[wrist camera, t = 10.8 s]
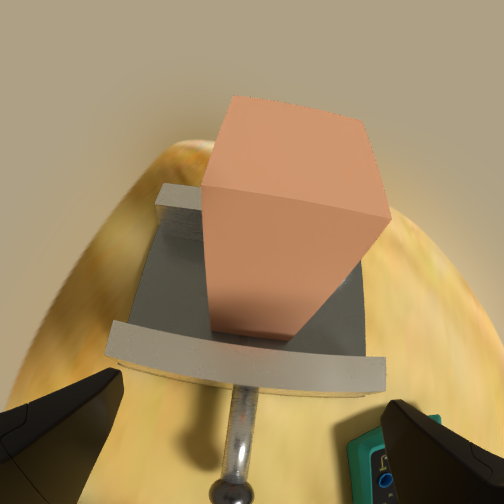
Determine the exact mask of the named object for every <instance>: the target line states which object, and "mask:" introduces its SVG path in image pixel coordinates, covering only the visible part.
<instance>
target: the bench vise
mask: <svg viewBox="0 0 504 504" xmlns="http://www.w3.org/2000/svg"><path fill="white" fill-rule="evenodd" d="M154 205H155V209H156V213H157V217H158V221H159V227H158V229H157V232H156V235H155V238H154V240H153V243H152V246H151V249H150V252H149V255H148V258H147V261H146V264H145V267H144V270H143V273H142V276H141V279H140V282H139V286H138V289H137V292H136V295H135V299H134V302H133V306H132V309H131V313H130V316H129V320H128V323H124V322H121V321H117V320H113V323H112V326H111V330H110V334H109V338H108V341H107V345H106V349H105V353H104V355H105V356H107V357H109V358H111V359H113V360H114V361H116V362H118V364H119V365H121V366H123V367H126V368H130V369H134V370H137V371H141V372H145V373H149V374H153V375H157V376H161V377H165V378H170V379H174V380H179V381H184V382H189V383H194V384H199V385H205V386H211V387H217V388H223V389H230V390H233V391H232V398H231V406H230V413H229V420H228V427H227V435H226V442H225V449H224V456H223V463H222V471H221V478H220V479H218V480H217V481H215V482H214V483H213V484H212V486H211V487H210V490H209V499H210V501H211V503H212V504H252V503H253V501H254V490H253V488H252V487H251V485H250V484H249V483H248V482H247V478H248V471H249V464H250V457H251V449H252V442H253V434H254V426H255V418H256V410H257V402H258V394H259V393H262V394H272V395H284V396H299V397H324V398H359V397H364V396H365V395H370V394H375V393H380V392H384V391H386V357H366V343H365V310H364V292H363V278H362V267H361V260H360V261H359V262H358V264H357V265H356V266H355V267H354V269H353V270H352V271H351V272H350V273H349V275H348V276H347V277H346V278H345V279H344V281H343V282H342V283H341V284H340V285H339V287H338V288H337V289H336V290H335V291H334V292H333V294H332V295H331V296H330V297H329V298H328V299H327V300H326V302H325V303H324V304H323V305H322V306H321V307H320V308H319V309H318V311H317V312H316V313H315V314H314V315H313V316H312V317H311V318H310V319H309V320H308V322H307V323H306V324H305V325H304V326H303V327H302V328H301V329H300V330H299V331H298V332H297V333H296V334H295V335H294V336H293V338H292V339H291V340H290V341H284V340H275V339H267V338H259V337H251V336H244V335H237V334H230V333H223V332H217V331H211V326H210V316H209V305H208V294H207V282H206V269H205V255H204V240H203V222H202V203H201V187H195V186H187V185H178V184H170V183H163V185H162V188H161V190H160V192H159V194H158V197H157V199H156V201H155V204H154Z"/></svg>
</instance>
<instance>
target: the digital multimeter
mask: <svg viewBox="0 0 504 504" xmlns="http://www.w3.org/2000/svg"><path fill="white" fill-rule="evenodd" d="M428 417H430V418H432V419H433V420H435V421H436V422H438V423H440V424H441V417H440V415H438V414H437V415H429V416H428ZM347 454H348V460H349V467H350V475H351V483H352V494H353V504H399V502H398V498H397V494H396V490H395V486H394V482H393V478H392V475H391V471H390V467H389V464H388V460H387V456H386V451H385V445H384V439H383V434H382V428H381V426H379V427H377V428H375V429H373V430H371V431H369V432H367V433H365V434H363V435H362V436H360V437H358V438H356V439H354V440H352V441H351V442H349V444H348V445H347ZM370 459H371V461H370ZM372 495H373V502H372Z"/></svg>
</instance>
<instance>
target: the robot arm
mask: <svg viewBox="0 0 504 504" xmlns="http://www.w3.org/2000/svg"><path fill="white" fill-rule="evenodd" d="M123 394H124V385H123V377H122V372H121V371H120V370H118V369H114V368H111V367H109V368H107V369H104V370H102V371H100V372H98V373H96V374H94V375H91V376H89V377H87V378H85V379H82V380H80V381H78V382H76V383H74V384H71V385H69V386H67V387H64V388H62V389H60V390H57V391H55V392H53V393H50V394H48V395H46V396H43V397H41V398H39V399H36V400H34V401H31V402H29V404H27V403H26V404H24V405H21V406H19V407H16V408H13V409H11V410H8V411H5V412H2V413H0V504H77V502H78V500H79V497H80V495H81V493H82V491H83V488H84V486H85V484H86V482H87V480H88V478H89V475H90V473H91V471H92V469H93V467H94V465H95V463H96V460H97V458H98V456H99V454H100V452H101V450H102V448H103V446H104V444H105V442H106V440H107V438H108V436H109V433H110V431H111V429H112V426H113V423H114V420H115V417H116V414H117V411H118V409H119V406H120V403H121V400H122V397H123ZM380 423H381V428H382V434H383V439H384V445H385V451H386V456H387V460H388V464H389V467H390V471H391V475H392V478H393V482H394V486H395V490H396V494H397V498H398V502H399V504H504V458H501V457H499V456H497V455H494V454H492V453H490V452H488V451H486V450H484V449H482V448H480V447H479V446H477V445H475V444H473V443H472V442H469V441H468V440H466V439H465V438H463V437H461V436H460V435H458V434H456V433H455V432H453V431H451V430H450V429H448V428H446V427H445V426H443V425H441V424H440V423H438V422H436V421H435V420H433V419H432V418H430V417H428V416H427V415H425V414H424V413H422V412H420V411H419V410H417V409H416V408H414V407H412V406H411V405H409V404H408V403H406V402H405V401H403V400H401V399H397V400H391V401H390V402H389V403H388V405H387V407H386V409H385V410H384V412H383V414H382V416H381V420H380Z"/></svg>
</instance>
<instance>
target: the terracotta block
mask: <svg viewBox="0 0 504 504" xmlns="http://www.w3.org/2000/svg"><path fill="white" fill-rule="evenodd" d="M201 203H202V222H203V240H204V255H205V269H206V282H207V294H208V305H209V316H210V326H211V331H217V332H223V333H230V334H237V335H244V336H251V337H259V338H267V339H275V340H284V341H290V340H291V339H292V338H293V336H294V335H295V334H296V333H297V332H298V331H299V330H300V329H301V328H302V327H303V326H304V325H305V324H306V323H307V322H308V320H309V319H310V318H311V317H312V316H313V315H314V314H315V313H316V312H317V311H318V309H319V308H320V307H321V306H322V305H323V304H324V303H325V302H326V300H327V299H328V298H329V297H330V296H331V295H332V294H333V292H334V291H335V290H336V289H337V288H338V287H339V285H340V284H341V283H342V282H343V281H344V279H345V278H346V277H347V276H348V275H349V273H350V272H351V271H352V270H353V269H354V267H355V266H356V265H357V264H358V262H359V261H360V260H361V259H362V258H363V256H364V255H365V254H366V253H367V251H368V250H369V249H370V247H371V246H372V245H373V244H374V242H375V241H376V240H377V238H378V237H379V236H380V234H381V233H382V232H383V231H384V229H385V228H386V227H387V225H388V224H389V223H390V221H391V220H392V218H391V214H390V210H389V206H388V202H387V198H386V194H385V190H384V187H383V183H382V180H381V176H380V173H379V170H378V166H377V163H376V160H375V157H374V154H373V151H372V148H371V145H370V142H369V139H368V136H367V133H366V131H365V128H364V125H363V122H362V121H360V120H356V119H353V118H349V117H345V116H341V115H338V114H334V113H330V112H326V111H322V110H317V109H313V108H308V107H303V106H298V105H293V104H288V103H283V102H277V101H271V100H265V99H258V98H251V97H243V96H235V95H234V96H233V98H232V101H231V103H230V106H229V108H228V111H227V113H226V116H225V119H224V121H223V124H222V126H221V129H220V132H219V134H218V137H217V140H216V143H215V145H214V148H213V151H212V154H211V156H210V159H209V162H208V165H207V168H206V171H205V174H204V177H203V180H202V183H201Z"/></svg>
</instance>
